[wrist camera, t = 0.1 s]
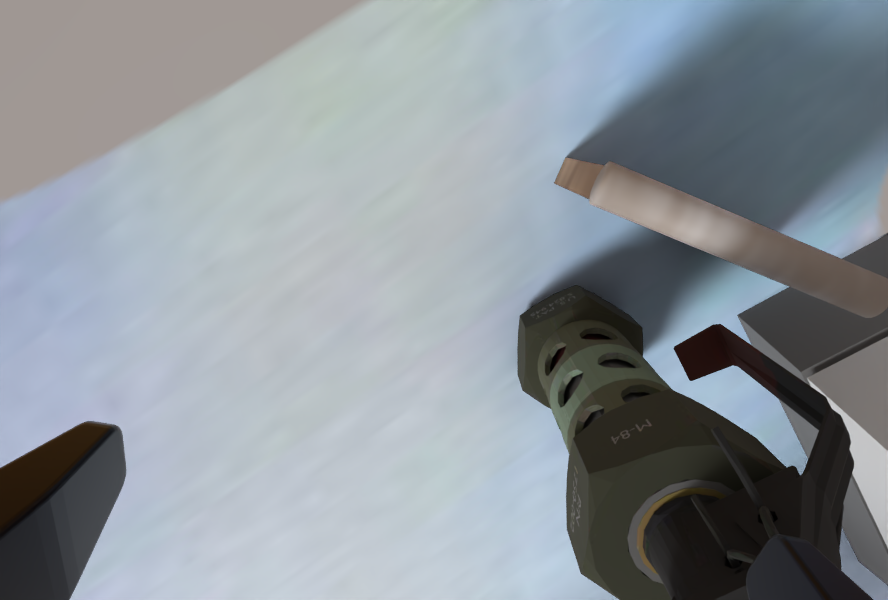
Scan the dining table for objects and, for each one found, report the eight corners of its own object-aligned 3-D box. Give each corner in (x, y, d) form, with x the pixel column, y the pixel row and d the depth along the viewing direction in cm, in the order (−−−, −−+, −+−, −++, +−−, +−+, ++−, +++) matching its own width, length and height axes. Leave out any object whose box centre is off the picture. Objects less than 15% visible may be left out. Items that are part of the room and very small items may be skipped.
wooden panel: (747, 266, 23) (878, 323, 16) (547, 183, 22) (596, 207, 15) (763, 237, 23) (902, 283, 16) (561, 152, 22) (616, 162, 15)
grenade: (635, 234, 23) (969, 409, 8) (699, 363, 24) (1080, 703, 10) (484, 316, 24) (554, 604, 9) (554, 436, 25) (709, 849, 11)
